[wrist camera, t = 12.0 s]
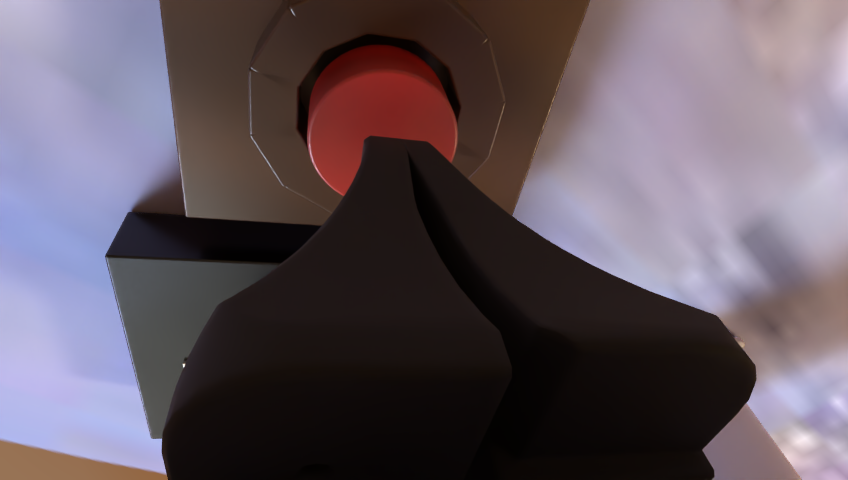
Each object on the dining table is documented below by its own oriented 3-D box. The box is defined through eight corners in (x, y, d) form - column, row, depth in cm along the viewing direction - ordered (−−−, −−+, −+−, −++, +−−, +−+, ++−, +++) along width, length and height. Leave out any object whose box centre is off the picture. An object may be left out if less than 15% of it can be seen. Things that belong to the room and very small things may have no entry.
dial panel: (403, 389, 28) (409, 434, 25) (164, 392, 25) (149, 442, 23) (446, 231, 21) (459, 274, 19) (127, 210, 18) (102, 259, 16)
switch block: (490, 204, 20) (518, 270, 17) (198, 181, 18) (171, 254, 15) (583, -84, 14) (652, -59, 11) (163, -179, 12) (106, -182, 9)
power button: (431, 176, 15) (441, 211, 13) (306, 165, 14) (303, 201, 13) (459, 54, 13) (475, 81, 11) (313, 32, 12) (311, 59, 10)
